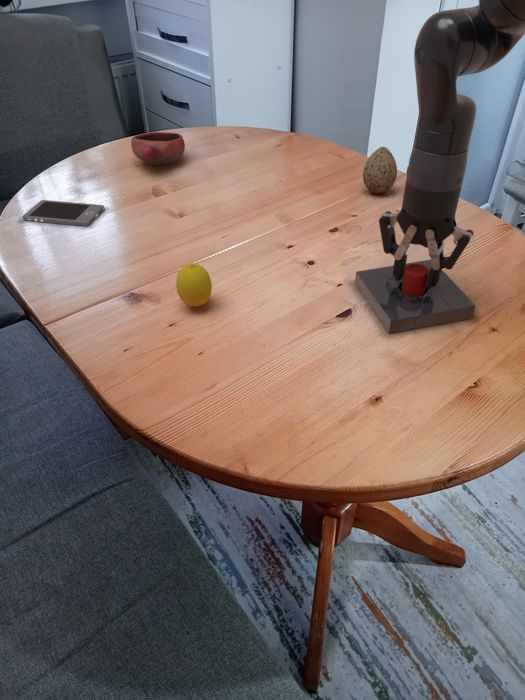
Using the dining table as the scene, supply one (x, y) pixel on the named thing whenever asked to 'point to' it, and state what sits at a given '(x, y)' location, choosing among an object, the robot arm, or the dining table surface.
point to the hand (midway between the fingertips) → (414, 281)
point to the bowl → (158, 147)
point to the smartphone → (64, 212)
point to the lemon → (193, 285)
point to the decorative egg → (380, 171)
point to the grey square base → (412, 300)
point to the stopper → (415, 280)
